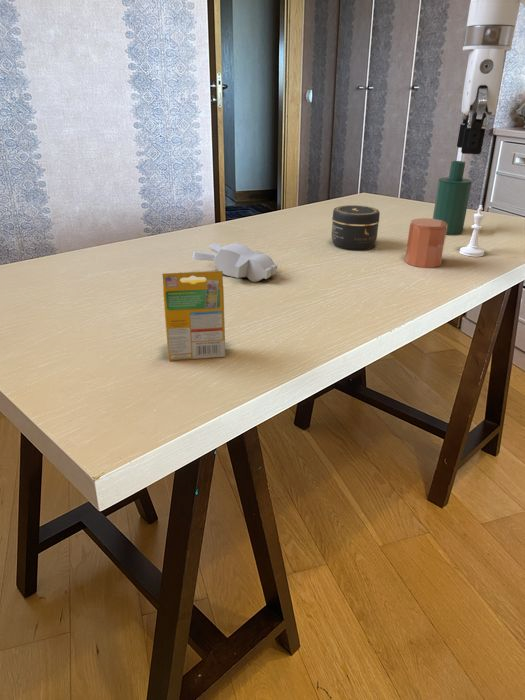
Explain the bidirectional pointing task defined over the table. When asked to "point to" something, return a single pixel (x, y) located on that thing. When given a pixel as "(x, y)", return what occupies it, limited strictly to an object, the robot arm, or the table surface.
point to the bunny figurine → (239, 261)
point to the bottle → (453, 199)
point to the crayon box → (194, 315)
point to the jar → (355, 227)
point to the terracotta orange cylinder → (426, 242)
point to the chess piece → (474, 237)
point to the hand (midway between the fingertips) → (468, 150)
